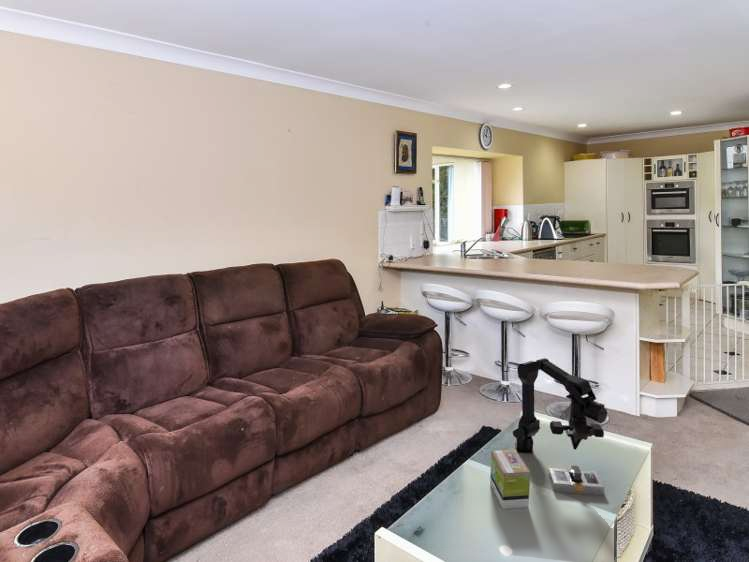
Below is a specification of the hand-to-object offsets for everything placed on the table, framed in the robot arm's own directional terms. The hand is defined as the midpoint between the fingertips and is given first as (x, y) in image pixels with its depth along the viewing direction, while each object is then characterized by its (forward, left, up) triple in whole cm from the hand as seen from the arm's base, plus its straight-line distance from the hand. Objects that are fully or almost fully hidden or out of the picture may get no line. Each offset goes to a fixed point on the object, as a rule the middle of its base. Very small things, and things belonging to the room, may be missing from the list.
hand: (574, 449), depth 195 cm
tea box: (-26, -15, -13) cm, 33 cm away
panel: (0, -5, -12) cm, 13 cm away
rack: (0, -5, -12) cm, 13 cm away
